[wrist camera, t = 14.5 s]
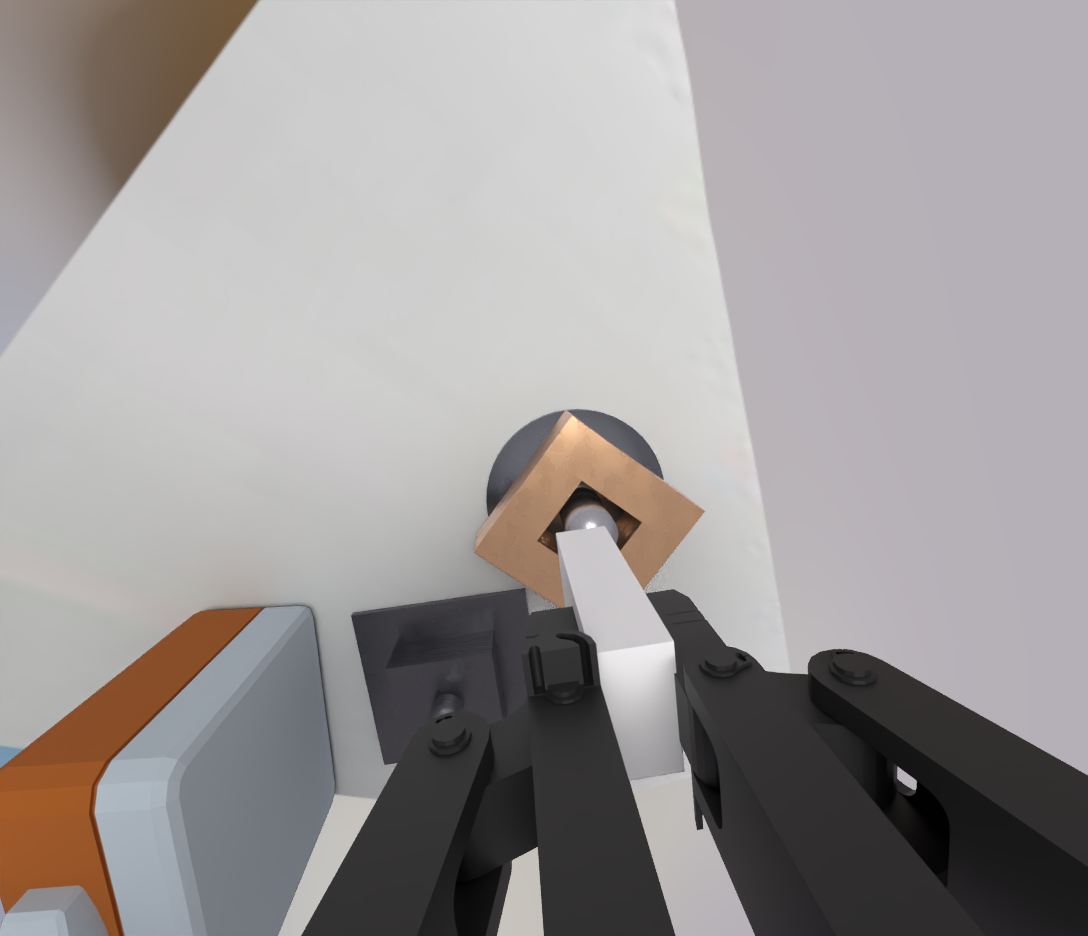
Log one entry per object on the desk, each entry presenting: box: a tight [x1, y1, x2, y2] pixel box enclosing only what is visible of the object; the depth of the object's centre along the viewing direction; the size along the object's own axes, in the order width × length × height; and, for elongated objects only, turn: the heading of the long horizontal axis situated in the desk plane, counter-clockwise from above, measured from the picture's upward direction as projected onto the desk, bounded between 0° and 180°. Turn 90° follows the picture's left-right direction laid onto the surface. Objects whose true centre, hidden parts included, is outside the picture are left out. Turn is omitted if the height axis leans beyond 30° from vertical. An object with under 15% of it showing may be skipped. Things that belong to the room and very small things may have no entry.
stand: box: [351, 588, 529, 765], centre depth 39 cm, size 14×14×8 cm
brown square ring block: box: [474, 410, 705, 608], centre depth 36 cm, size 11×11×4 cm
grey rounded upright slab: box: [0, 606, 335, 936], centre depth 33 cm, size 18×9×21 cm, turn 2°
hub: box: [487, 409, 663, 544], centre depth 37 cm, size 14×14×9 cm
